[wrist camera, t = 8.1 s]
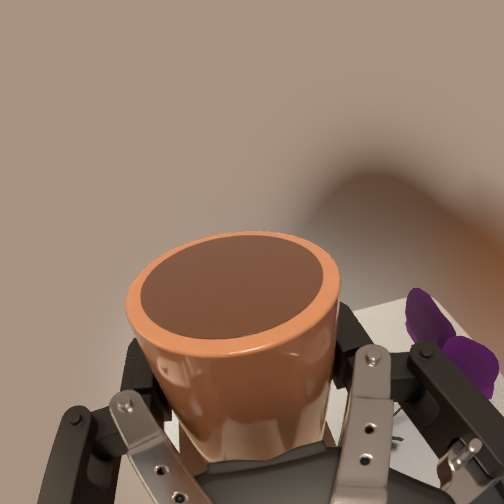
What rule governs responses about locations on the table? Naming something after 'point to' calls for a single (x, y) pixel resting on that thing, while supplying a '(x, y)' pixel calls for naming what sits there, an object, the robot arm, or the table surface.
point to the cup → (241, 340)
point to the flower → (449, 342)
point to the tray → (491, 494)
